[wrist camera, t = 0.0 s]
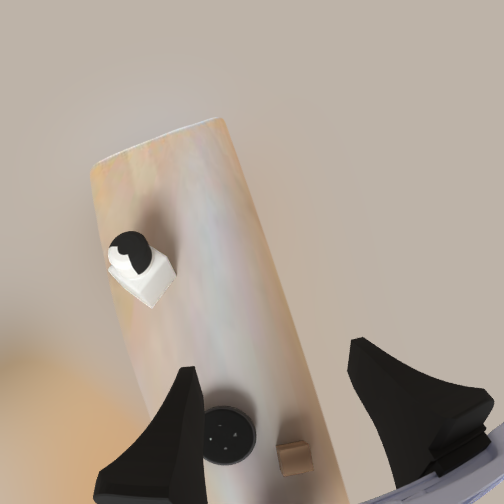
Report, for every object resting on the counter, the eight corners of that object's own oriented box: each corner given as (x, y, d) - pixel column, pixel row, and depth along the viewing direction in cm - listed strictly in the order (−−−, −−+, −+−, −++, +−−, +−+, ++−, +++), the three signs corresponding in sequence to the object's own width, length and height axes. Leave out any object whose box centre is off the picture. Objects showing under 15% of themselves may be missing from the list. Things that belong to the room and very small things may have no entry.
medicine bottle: (147, 256, 52) (125, 217, 41) (177, 276, 50) (160, 239, 40) (122, 287, 49) (93, 254, 38) (152, 309, 47) (127, 280, 37)
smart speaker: (189, 411, 40) (184, 411, 36) (247, 400, 41) (247, 400, 37) (202, 465, 36) (198, 470, 32) (261, 454, 37) (263, 459, 33)
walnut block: (306, 463, 36) (313, 470, 31) (280, 469, 35) (284, 476, 31) (302, 440, 38) (309, 444, 33) (275, 445, 37) (279, 450, 33)
